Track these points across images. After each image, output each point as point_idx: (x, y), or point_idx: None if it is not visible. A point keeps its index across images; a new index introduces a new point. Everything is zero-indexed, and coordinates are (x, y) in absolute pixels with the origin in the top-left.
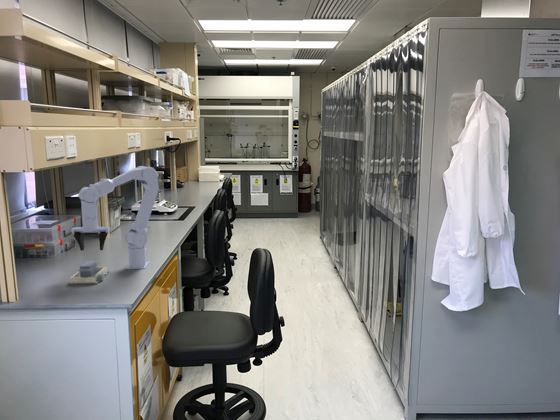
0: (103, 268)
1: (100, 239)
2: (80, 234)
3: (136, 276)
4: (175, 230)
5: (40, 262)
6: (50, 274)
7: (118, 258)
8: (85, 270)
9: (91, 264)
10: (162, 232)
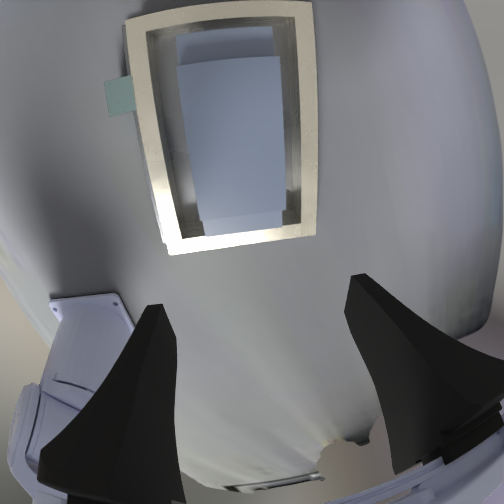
0: (168, 216)
1: (111, 413)
2: (441, 433)
3: (11, 203)
4: (207, 474)
5: (460, 308)
6: (439, 196)
7: (234, 384)
8: (209, 31)
9: (191, 119)
10: (225, 470)
